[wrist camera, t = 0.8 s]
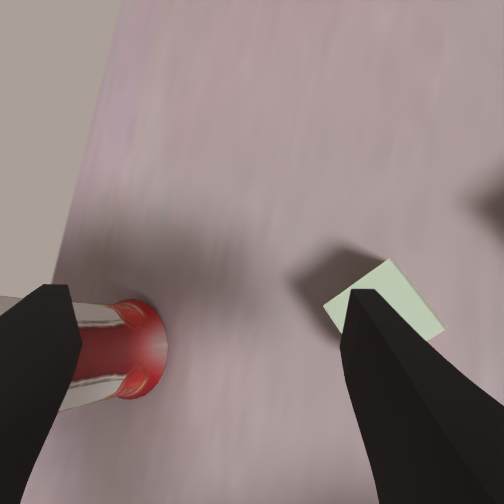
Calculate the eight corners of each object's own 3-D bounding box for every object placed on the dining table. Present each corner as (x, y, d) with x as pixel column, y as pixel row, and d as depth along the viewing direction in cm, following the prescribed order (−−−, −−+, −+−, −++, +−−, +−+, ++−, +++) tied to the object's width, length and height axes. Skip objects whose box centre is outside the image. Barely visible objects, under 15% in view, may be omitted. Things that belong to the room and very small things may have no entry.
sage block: (448, 327, 22) (444, 329, 19) (384, 367, 23) (370, 377, 20) (400, 266, 24) (389, 258, 20) (343, 307, 25) (322, 305, 21)
